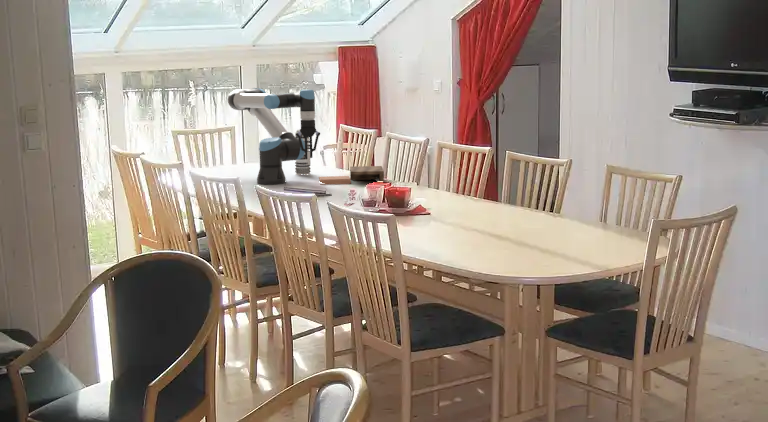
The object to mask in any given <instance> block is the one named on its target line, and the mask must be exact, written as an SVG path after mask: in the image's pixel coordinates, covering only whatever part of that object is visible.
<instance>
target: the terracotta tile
mask: <svg viewBox="0 0 768 422" xmlns="http://www.w3.org/2000/svg"><path fill="white" fill-rule="evenodd" d="M319 181H320V182H322V183H325V184H324V185H345V184H346V185H347V184H348V185H349V184H352V183H351V181H352V180H351V179H350V175H335V176H327V175H326V176H318V182H319Z"/></svg>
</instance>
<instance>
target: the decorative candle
mask: <svg viewBox="0 0 768 422" xmlns="http://www.w3.org/2000/svg"><path fill="white" fill-rule="evenodd" d="M299 131H300V129H297V130H296V131H295V132H294V133H295V135H294V136H295V137H296V138H298V137H297V135H296V133H298V132H299ZM300 137H301V139H303V141H304V143H305V137H304V136H303V135H302V133H301V135H300ZM307 152H310V137H307ZM294 164H295V165H294V166H295V167H294V169H295V172H294V173H295V176H302V175H301V174H305V175H304V176H308V175H307V174H310V175H311V172H312V171H311V167H310V166H311V164H310V165H308V162H307V158H305V154H304V156H303V157H302V158H301V159H298V160H295V162H294Z"/></svg>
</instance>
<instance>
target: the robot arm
mask: <svg viewBox="0 0 768 422" xmlns="http://www.w3.org/2000/svg"><path fill="white" fill-rule="evenodd" d="M315 99H316V97H315V90H314V89H301V90H299V92H288V93H267V92H266V91H265V89H262V88H258V87H252V88H237V89H234V90H233V91H231V92H230V93H229V94H228V96H227V102H228V105H229V107H230V108H231V109H233V110H235V111H248V112H249V114H250V115H251V116H253V117H255V118H257V119H258V121H259V123H260V124H261V125H262V126H263V128H264V129H265V130H266V132H267V133H268V134H269V136H270V137H267V138H264V139H261V140H260V141H259V144H258V145H259V146H258V151H259V170H258V174H257V178H256V183H257V184H259V185H281V184H284V183H286V182H285V181H287V179H286V178H287V177H286V175H285V173H284V170H283V162H290V161H296V160H298V159H301V158H302V157H303V156H304V154H305V158H307V162H308V165H310V166H311V159H312V158H313V152H315V151H316V149H317V144H318V142H319V138H320V135H321V132H320V131H318V130H317V129H316V120H315V119H316V111H315V110H316V109H315V107H316V106H315V104H316V103H315V101H316V100H315ZM286 108H287V109H289V108H290V109H291V108H300V111H299V112H300V119H301V120H300V128H299V130H300V131H299V132H298V133H296V135H297V137H298V138H296V137H295V135H294V134H293V132H290V131H287V129H286V128H285V126H284V125H283V124H282V123H281V122H280V120H279V118H278V117H276V114H274V112H273V111H272V110H275V109H276V110H277V109H286ZM301 133H302V135H303V136H304V137H305V143H304V141H303V139H301V137H300V135H301ZM314 135H316V136H315V140H314V145H313V136H314ZM307 137H309V141H310V143H309V145H310V149H309V151H310V152H307Z"/></svg>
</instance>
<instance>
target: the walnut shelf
mask: <svg viewBox="0 0 768 422" xmlns="http://www.w3.org/2000/svg"><path fill="white" fill-rule="evenodd" d="M384 176H385V171H384V169H383V166H382V165H371V166H370V165H368V166H367V165H366V166H365V165H364V166H362V165H361V166H360V165H359V166H354V165H353V166H350V168H349V177H350V179H351V181H364V180H366V181H367V180H368V181H371V179H376V180H375V181H384V180H385V177H384ZM384 182H385V181H384Z"/></svg>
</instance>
